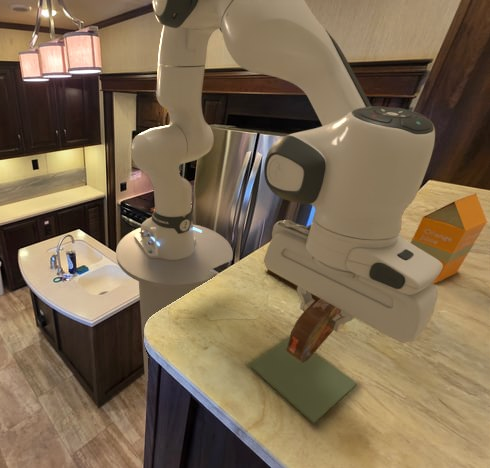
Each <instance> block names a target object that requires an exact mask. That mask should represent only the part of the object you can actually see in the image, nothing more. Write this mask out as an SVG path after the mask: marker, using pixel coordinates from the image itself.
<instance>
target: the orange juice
mask: <svg viewBox="0 0 490 468" xmlns="http://www.w3.org/2000/svg"><path fill="white" fill-rule="evenodd" d="M487 223H488V220H487V218H486V215H485V212H484V210H483V207H482V205H481V202H480V200H479V197H478V195H477V193H473V194H471V195H468V196H465V197H462V198H459V199H456V200H454V201H452V202H450V203H448V204H446V205H444V206H442V207H440V208H438V209H436V210H434V211H432V212H430V213H428V214H426V215H424V216H422V218H421V220H420V222H419V224H418V227H417V229H416V231H415V233H414V235H413V237H412V239H411V241H410V243H412V244H413V245H415V246H416V247H418V248H419V249H421V250H423V251H424V252H426V253H428V254H429V255H431V256H433V257H434V258H436V259H437V260H439V261H440V262H441V263H442V265H443V268H442V270H441V272H440V274H439V275H438V277H437V278H436V279H435V280H434V281H433V282H432V283H433V284H437V283H439V282H441V281H443V280H445V279H447V278H450V277H452V276H453V275H456V274H457V273H458V271H459V269H460V268H461V266H462V264H463V263H464V261H465V259H466V258H467V256H468V254H469V253H470V252H471V250H472V248H473V246H474V245H475V243H476V241H477V239H478V238H479V236H480V235H481V233H482V231H483V230H484V228H485V226H486V225H487Z"/></svg>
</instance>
